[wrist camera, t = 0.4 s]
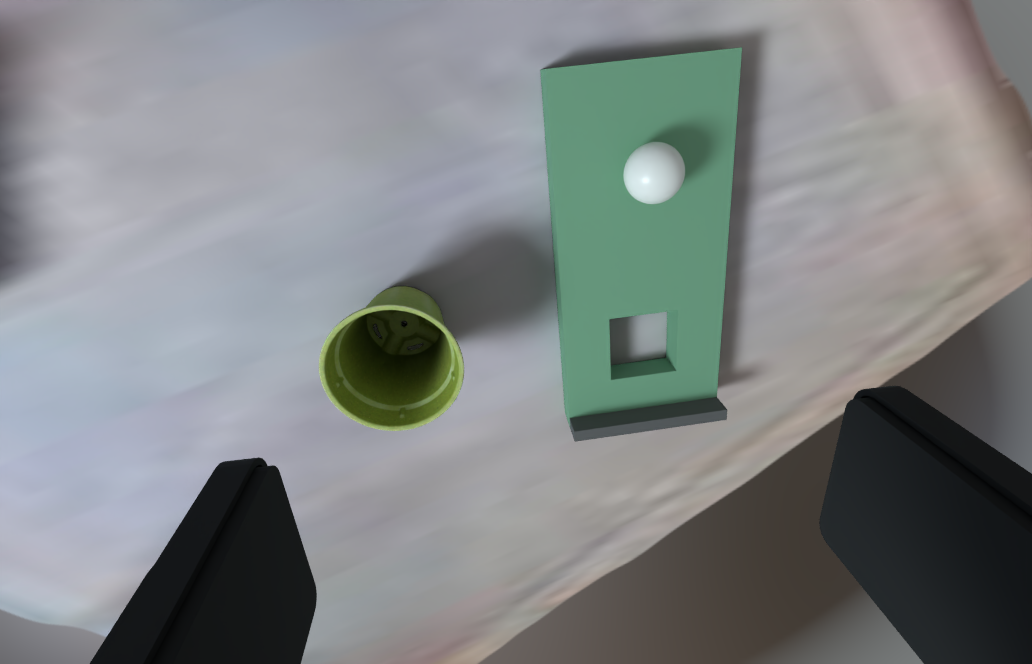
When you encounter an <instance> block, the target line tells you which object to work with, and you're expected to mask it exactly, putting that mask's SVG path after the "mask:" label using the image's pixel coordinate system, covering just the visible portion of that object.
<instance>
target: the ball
mask: <svg viewBox="0 0 1032 664" xmlns="http://www.w3.org/2000/svg"><path fill="white" fill-rule="evenodd" d="M623 177H624V183H625V186H626V188H627V190H628V192H629V193H630V194H631V195H632V197H634V198H635V199H636V200H638V201H640V202H642V203H646V204H658V203H662V202H665V201H667V200H669V199H670V198H672V197H673V196H674V195H675V194H676V193H677V192H678V191H679V189H680V188H681V186H682V184H683V181H684V177H685V165H684V161H683V158H682V156H681V155H680V153H679V152H678V151H677V150H676V149H675V148H674V147H672V146H671V145H669V144H666V143H663V142H650V143H647V144H644V145H642V146H640V147H639V148H637V149H636V150H635V151H634V152H633V153H632V154H631V155H630V156H629V158H628V160H627V162H626V164H625V167H624V174H623Z"/></svg>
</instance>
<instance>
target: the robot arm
mask: <svg viewBox="0 0 1032 664" xmlns="http://www.w3.org/2000/svg"><path fill="white" fill-rule="evenodd" d="M819 524H820V530H821V534H822V536H823V538H824V540H825V541H826V543H827V544H828V545H829V547H830V548H831V549H832V550H833V552H834V553H835V554H836V555H837V556H838V558H839V559H840V560H841V562H842V563H843V564H844V565H845V566H846V568H847V569H848V570H849V571H850V573H851V574H852V575H853V576H854V578H855V579H856V580H857V581H858V582H859V584H860V585H861V586H862V587H863V589H864V590H865V591H866V592H867V594H868V595H869V596H870V597H871V599H872V600H873V601H874V602H875V604H876V605H877V606H878V607H879V609H880V610H881V611H882V612H883V613H884V615H885V616H886V617H887V618H888V620H889V621H890V622H891V623H892V625H893V626H894V627H895V628H896V630H897V631H898V632H899V633H900V634H901V636H902V637H903V638H904V639H905V641H906V642H907V643H908V644H909V646H910V647H911V648H912V649H913V651H914V652H915V653H916V654H917V655H918V657H919V658H920V659H921V660H922V662H923V663H924V664H1032V474H1031V473H1030V472H1028V471H1027V470H1025V469H1024V468H1022V467H1021V466H1019V465H1018V464H1016V463H1015V462H1013V461H1012V460H1010V459H1009V458H1008V457H1006V456H1005V455H1003V454H1002V453H1000V452H998V451H997V450H996V449H994V448H993V447H991V446H990V445H988V444H987V443H985V442H984V441H982V440H981V439H979V438H978V437H976V436H975V435H973V434H972V433H970V432H969V431H967V430H966V429H964V428H963V427H961V426H960V425H959V424H957V423H955V422H954V421H953V420H951V419H950V418H948V417H947V416H945V415H943V414H942V413H941V412H939V411H938V410H936V409H935V408H933V407H931V406H930V405H929V404H927V403H926V402H924V401H923V400H921V399H920V398H918V397H917V396H915V395H914V394H912V393H911V392H910V391H908V390H906V389H905V388H902V387H900V386H888V387H879V388H870V389H863V390H860V391H858V392H857V393H856V395H855V396H854V399H853V400H850V401H849V402H848V403H847V405H846V408H845V412H844V416H843V421H842V425H841V430H840V434H839V438H838V442H837V447H836V451H835V455H834V460H833V464H832V468H831V472H830V477H829V481H828V486H827V490H826V494H825V498H824V503H823V507H822V512H821V516H820V522H819ZM316 597H317V593H316V586H315V582H314V579H313V576H312V573H311V569H310V566H309V563H308V560H307V557H306V554H305V551H304V547H303V544H302V541H301V538H300V535H299V532H298V529H297V525H296V522H295V519H294V516H293V513H292V510H291V507H290V503H289V500H288V497H287V494H286V491H285V488H284V485H283V481H282V478H281V475H280V472H279V470H278V468H277V467H276V466H267V464H266V462H265V461H264V460H263V459H262V458H252V459H243V460H234V461H225V462H222V463H220V464H219V465H218V466H217V467H216V468H215V470H214V471H213V473H212V475H211V476H210V478H209V479H208V481H207V483H206V484H205V486H204V487H203V489H202V490H201V492H200V494H199V495H198V497H197V498H196V500H195V501H194V503H193V505H192V506H191V508H190V509H189V511H188V513H187V514H186V516H185V517H184V519H183V520H182V522H181V524H180V525H179V527H178V528H177V530H176V531H175V533H174V535H173V536H172V538H171V539H170V541H169V543H168V544H167V546H166V547H165V549H164V550H163V552H162V554H161V555H160V557H159V558H158V560H157V561H156V563H155V564H154V566H153V567H152V568H151V569H150V571H149V572H148V573H147V575H146V576H145V578H144V579H143V581H142V582H141V584H140V586H139V587H138V589H137V590H136V592H135V593H134V595H133V597H132V598H131V600H130V601H129V603H128V604H127V606H126V608H125V609H124V611H123V612H122V614H121V615H120V617H119V619H118V620H117V622H116V623H115V625H114V626H113V628H112V629H111V631H110V633H109V634H108V636H107V637H106V639H105V641H104V642H103V644H102V645H101V647H100V648H99V650H98V651H97V653H96V655H95V656H94V658H93V659H92V661H91V662H90V664H301V660H302V656H303V653H304V649H305V645H306V642H307V638H308V634H309V631H310V627H311V623H312V620H313V616H314V612H315V608H316Z"/></svg>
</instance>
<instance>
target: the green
mask: <svg viewBox="0 0 1032 664" xmlns="http://www.w3.org/2000/svg"><path fill="white" fill-rule="evenodd" d="M741 55H742V47H741V48H732V49H723V50H714V51H705V52H696V53H686V54H677V55H668V56H659V57H650V58H641V59H632V60H623V61H614V62H605V63H595V64H586V65H577V66H568V67H559V68H550V69H543V70H540V71H541V85H542V99H543V113H544V127H545V140H546V154H547V168H548V182H549V196H550V210H551V224H552V238H553V252H554V265H555V279H556V293H557V307H558V321H559V335H560V349H561V363H562V377H563V391H564V404H565V414H566V417H567V420H568V423H569V426H570V429H571V432H572V435H573V438H574V441H582V440H589V439H596V438H603V437H610V436H617V435H624V434H631V433H638V432H644V431H651V430H658V429H665V428H672V427H679V426H686V425H693V424H700V423H707V422H714V421H720V420H726V419H727V409H726V408H725V406H724V405H723V404H722V403H721V402H720V400H719V399H718V398H717V387H718V373H719V359H720V345H721V331H722V317H723V304H724V290H725V276H726V262H727V248H728V234H729V221H730V207H731V193H732V179H733V165H734V152H735V138H736V124H737V110H738V96H739V82H740V69H741ZM650 142H663V143H666V144H669V145H671V146H672V147H674V148H675V149H676V150H677V151H678V152H679V153H680V155H681V156H682V158H683V161H684V165H685V177H684V181H683V184H682V186H681V188H680V189H679V191H678V192H677V193H676V194H675V195H674V196H673V197H672V198H670V199H669V200H667V201H665V202H662V203H658V204H646V203H642V202H640V201H638V200H636V199H635V198H634V197H632V195H631V194H630V193H629V192H628V190H627V188H626V186H625V183H624V177H623V174H624V167H625V164H626V162H627V160H628V158H629V156H630V155H631V154H632V153H633V152H634V151H635V150H636V149H637V148H639V147H640V146H642V145H644V144H647V143H650ZM666 311H667V345H666V358H661V359H654V360H647V361H639V362H632V363H625V364H618V365H611V364H610V327H609V319H614V318H622V317H629V316H637V315H644V314H652V313H659V312H666Z"/></svg>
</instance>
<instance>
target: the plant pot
mask: <svg viewBox="0 0 1032 664" xmlns="http://www.w3.org/2000/svg"><path fill="white" fill-rule="evenodd" d="M402 321H406V322H407V326H405V327H404V326H402V325H401V322H402ZM374 324H376V325H377V327H378V331H379V333H380V335H381V336H382V338H378V337H377V335H376V333H375V331H374V329H373V326H374ZM420 343H423V344H422V346H420V347H419V348H417V349H414V350H408V349H407V347H408V346H414V345H417V344H420ZM319 374H320V379H321V382H322V386H323V388H324V390H325V392H326V394H327V395H328V397H329V399H330V400H331V401H332V403H333V404H334V405H335V406H336V407H337V408H338V409H339V410H340V411H341V412H342V413H344V414H345V415H346V416H348V417H349V418H351V419H352V420H354V421H356V422H358V423H360V424H362V425H365V426H368V427H371V428H375V429H380V430H387V431H401V430H409V429H414V428H417V427H420V426H422V425H425V424H427V423H430V422H431V421H433V420H435V419H436V418H438V417H439V416H440V415H442V414H443V413H444V412H445V411H446V410H447V409H448V408H449V407H450V406H451V405H452V404H453V402H454V401H455V399H456V398H457V396H458V394H459V392H460V389H461V386H462V383H463V378H464V362H463V357H462V353H461V350H460V347H459V345H458V343H457V341H456V339H455V338H454V336H453V335H452V333H451V332H450V331H449V330H448V328H447V327H446V326H445V325H444V321H443V317H442V314H441V311H440V309H439V307H438V305H437V304H436V302H435V301H434V300H433V299H432V298H431V297H430V296H429V295H427V294H426V293H424V292H422V291H419V290H417V289H415V288H412V287H407V286H398V287H392V288H389V289H387V290H384V291H383V292H381V293H379V294H378V295H377V296H376V297H375V298H374V299H373V300H372V301H371V302H370V303H369V304H368V305H367V306H366V308H363V309H361V310H359V311H357V312H355V313H353V314H351V315H349V316H348V317H346V318H345V319H343V320H342V321H341V322H340V323H339V324H338V325H337V326H336V327H335V328H334V329H333V330H332V331H331V332H330V334H329V335H328V337H327V339H326V340H325V342H324V345H323V347H322V350H321V353H320V358H319Z"/></svg>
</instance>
